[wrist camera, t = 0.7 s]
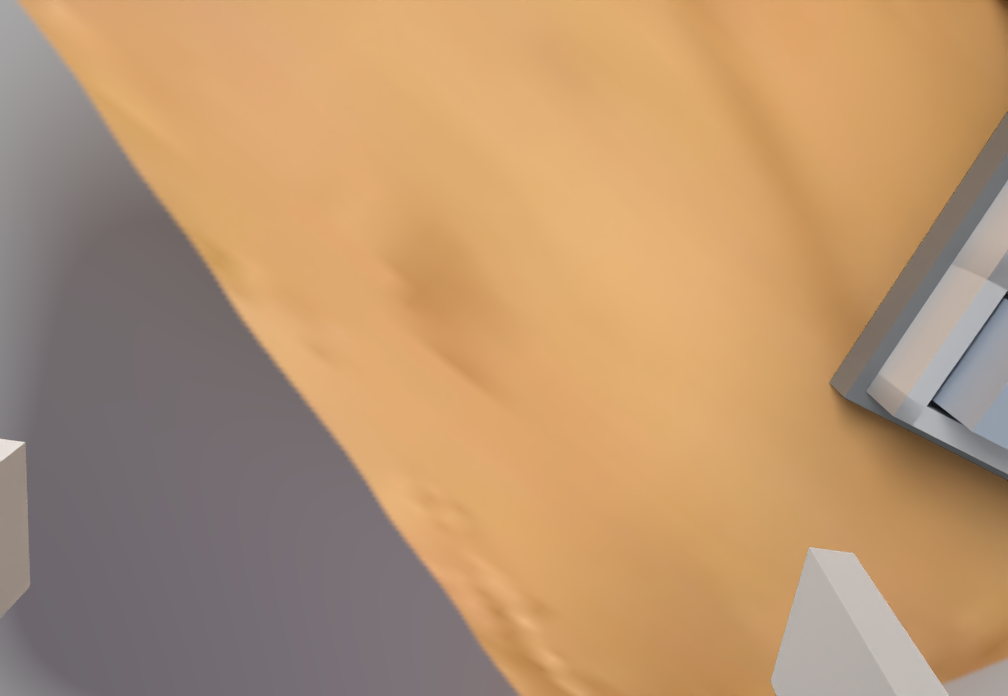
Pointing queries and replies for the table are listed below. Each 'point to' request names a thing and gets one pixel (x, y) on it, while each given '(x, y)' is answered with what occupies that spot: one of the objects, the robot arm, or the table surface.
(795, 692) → the robot arm
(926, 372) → the keypad base
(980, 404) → the key slate
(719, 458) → the table surface
